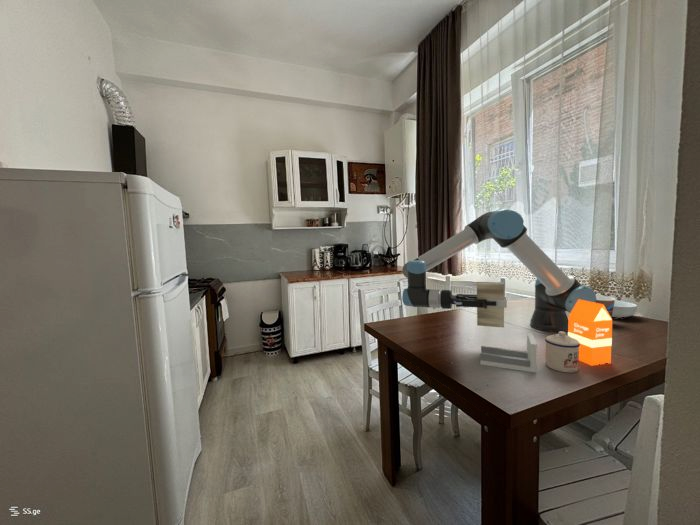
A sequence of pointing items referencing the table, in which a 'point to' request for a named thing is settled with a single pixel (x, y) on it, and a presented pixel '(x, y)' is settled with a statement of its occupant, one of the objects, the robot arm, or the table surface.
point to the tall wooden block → (491, 314)
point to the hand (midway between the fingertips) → (506, 302)
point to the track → (511, 357)
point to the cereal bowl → (624, 309)
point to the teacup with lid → (562, 352)
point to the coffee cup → (606, 303)
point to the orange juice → (591, 332)
